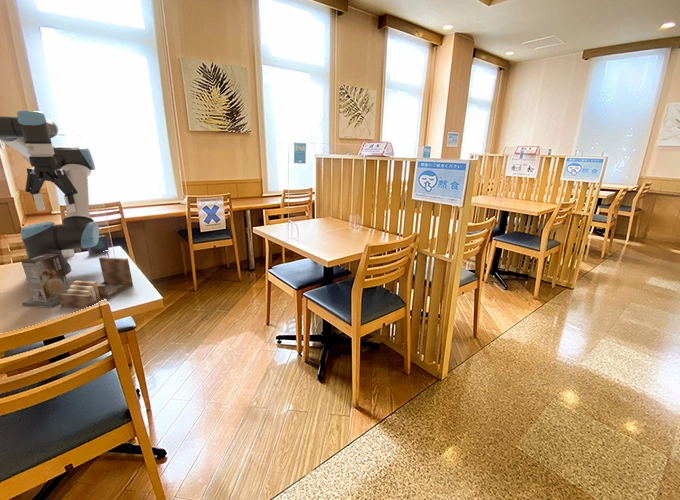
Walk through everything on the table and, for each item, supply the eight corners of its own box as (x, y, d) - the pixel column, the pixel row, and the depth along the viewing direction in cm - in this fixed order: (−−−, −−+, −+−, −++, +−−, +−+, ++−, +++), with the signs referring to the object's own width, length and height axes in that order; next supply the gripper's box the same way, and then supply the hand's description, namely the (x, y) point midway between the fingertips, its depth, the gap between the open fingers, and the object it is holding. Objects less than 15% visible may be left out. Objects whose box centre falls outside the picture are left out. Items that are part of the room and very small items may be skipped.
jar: (73, 252, 177) (68, 231, 174) (75, 256, 172) (70, 234, 168) (52, 256, 171) (46, 234, 168) (53, 260, 166) (47, 237, 162)
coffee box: (57, 290, 130) (46, 252, 125) (70, 292, 129) (60, 254, 124) (32, 301, 121) (20, 260, 116) (47, 302, 120) (35, 262, 115)
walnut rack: (61, 306, 119) (53, 276, 116) (107, 283, 140) (101, 257, 136) (91, 308, 118) (84, 278, 115) (133, 284, 138) (127, 258, 135)
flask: (89, 255, 174) (85, 236, 170) (88, 254, 175) (83, 235, 172) (109, 251, 180) (105, 232, 177) (107, 250, 182) (103, 231, 179)
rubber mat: (22, 305, 120) (21, 302, 120) (53, 291, 131) (52, 289, 131) (52, 307, 119) (51, 304, 119) (80, 293, 130) (79, 290, 130)
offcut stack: (70, 304, 121) (65, 285, 119) (80, 299, 125) (75, 280, 123) (91, 306, 120) (86, 286, 118) (100, 300, 124) (96, 281, 122)
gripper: (1, 154, 119) (19, 211, 126) (62, 157, 116) (76, 215, 123) (23, 153, 126) (38, 207, 133) (80, 156, 123) (93, 211, 130)
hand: (56, 211), depth 128 cm, fingers open, 13 cm apart
